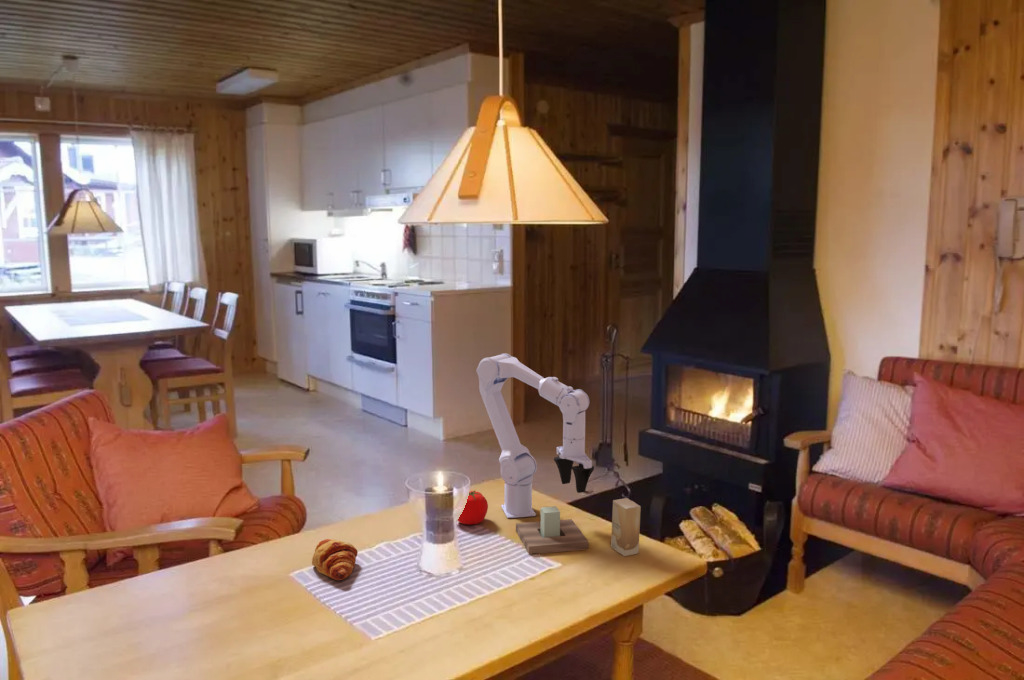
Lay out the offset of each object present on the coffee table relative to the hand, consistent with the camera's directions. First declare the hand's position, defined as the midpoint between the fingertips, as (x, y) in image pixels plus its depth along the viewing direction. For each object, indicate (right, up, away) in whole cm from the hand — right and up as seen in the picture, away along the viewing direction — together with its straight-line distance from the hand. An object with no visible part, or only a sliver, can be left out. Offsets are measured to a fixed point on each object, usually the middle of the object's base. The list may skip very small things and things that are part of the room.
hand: (573, 487), depth 205 cm
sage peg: (-6, -12, -8) cm, 16 cm away
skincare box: (+12, -13, -14) cm, 22 cm away
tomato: (-27, -10, +4) cm, 29 cm away
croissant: (-57, -14, -23) cm, 63 cm away
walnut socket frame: (-6, -12, -8) cm, 15 cm away
